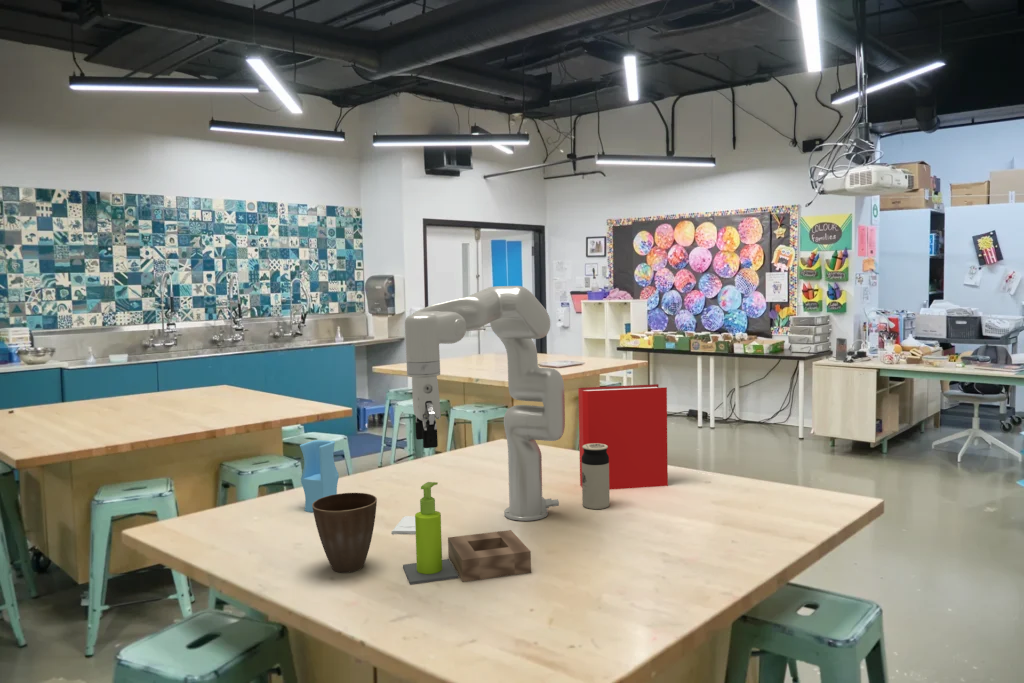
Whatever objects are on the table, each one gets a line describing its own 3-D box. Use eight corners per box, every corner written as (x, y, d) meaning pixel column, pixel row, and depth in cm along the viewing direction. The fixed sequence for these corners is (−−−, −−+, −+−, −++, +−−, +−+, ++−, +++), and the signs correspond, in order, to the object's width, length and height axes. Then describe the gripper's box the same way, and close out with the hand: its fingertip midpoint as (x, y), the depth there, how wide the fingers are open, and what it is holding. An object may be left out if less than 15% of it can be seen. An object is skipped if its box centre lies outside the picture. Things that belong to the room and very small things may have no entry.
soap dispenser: (448, 564, 179) (445, 481, 177) (435, 575, 172) (433, 488, 171) (425, 562, 181) (422, 479, 179) (412, 572, 174) (409, 487, 173)
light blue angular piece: (302, 511, 227) (299, 445, 225) (318, 503, 234) (315, 439, 232) (324, 513, 224) (321, 446, 222) (339, 506, 231) (337, 441, 230)
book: (659, 479, 253) (658, 384, 250) (667, 485, 245) (666, 387, 242) (579, 484, 249) (577, 387, 246) (585, 491, 241) (583, 391, 238)
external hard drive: (431, 522, 215) (421, 536, 203) (403, 521, 216) (391, 536, 204) (431, 516, 215) (421, 530, 203) (403, 516, 216) (391, 530, 204)
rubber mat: (448, 561, 182) (448, 558, 182) (458, 577, 172) (458, 575, 172) (402, 567, 179) (402, 564, 179) (410, 584, 169) (409, 581, 169)
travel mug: (609, 501, 228) (608, 442, 227) (610, 509, 220) (609, 448, 219) (582, 501, 229) (581, 443, 228) (582, 509, 221) (581, 448, 220)
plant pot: (348, 584, 170) (345, 514, 169) (301, 572, 178) (298, 505, 177) (392, 562, 183) (389, 497, 181) (347, 552, 190) (344, 489, 189)
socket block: (511, 549, 189) (511, 530, 189) (531, 572, 174) (530, 551, 174) (448, 557, 185) (447, 537, 185) (462, 581, 170) (462, 559, 169)
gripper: (447, 372, 165) (450, 449, 166) (432, 363, 181) (435, 434, 183) (413, 374, 163) (416, 452, 164) (401, 365, 179) (404, 437, 181)
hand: (426, 443), depth 174 cm, fingers open, 9 cm apart
